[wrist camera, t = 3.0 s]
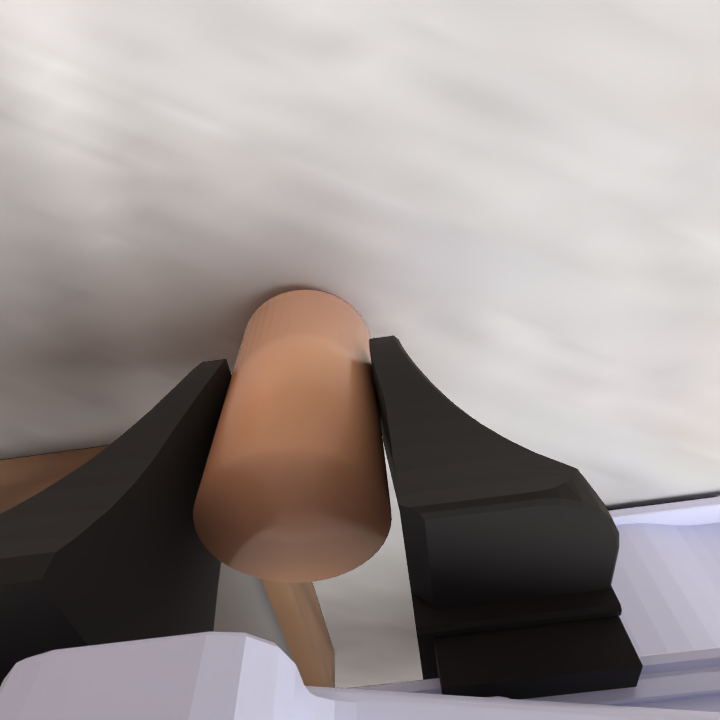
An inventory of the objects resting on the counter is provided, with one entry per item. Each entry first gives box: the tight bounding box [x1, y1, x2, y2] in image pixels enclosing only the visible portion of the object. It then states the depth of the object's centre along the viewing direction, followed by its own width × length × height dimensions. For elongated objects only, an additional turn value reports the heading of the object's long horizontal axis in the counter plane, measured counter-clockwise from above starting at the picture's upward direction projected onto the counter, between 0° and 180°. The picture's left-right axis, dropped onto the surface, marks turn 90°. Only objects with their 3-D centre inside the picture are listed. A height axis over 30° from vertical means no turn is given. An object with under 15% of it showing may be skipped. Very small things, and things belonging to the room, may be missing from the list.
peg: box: [193, 290, 392, 583], centre depth 12 cm, size 4×4×6 cm
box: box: [0, 446, 335, 688], centre depth 19 cm, size 14×14×2 cm
